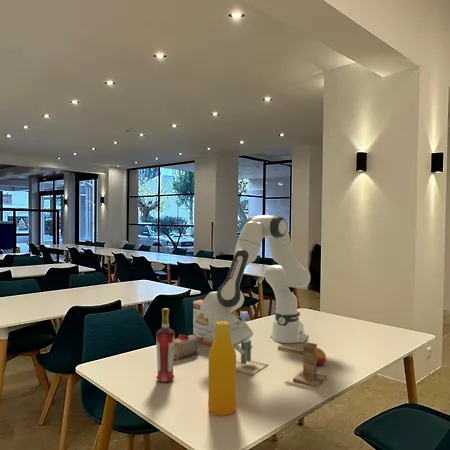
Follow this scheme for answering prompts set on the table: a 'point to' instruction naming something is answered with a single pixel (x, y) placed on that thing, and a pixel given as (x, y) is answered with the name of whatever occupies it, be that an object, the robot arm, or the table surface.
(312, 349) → the stand
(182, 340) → the food item
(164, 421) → the table surface
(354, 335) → the table surface
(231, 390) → the beer bottle
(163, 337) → the liquor
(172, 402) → the table surface
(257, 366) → the mat
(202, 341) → the cracker box
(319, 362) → the fruit
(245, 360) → the arch
